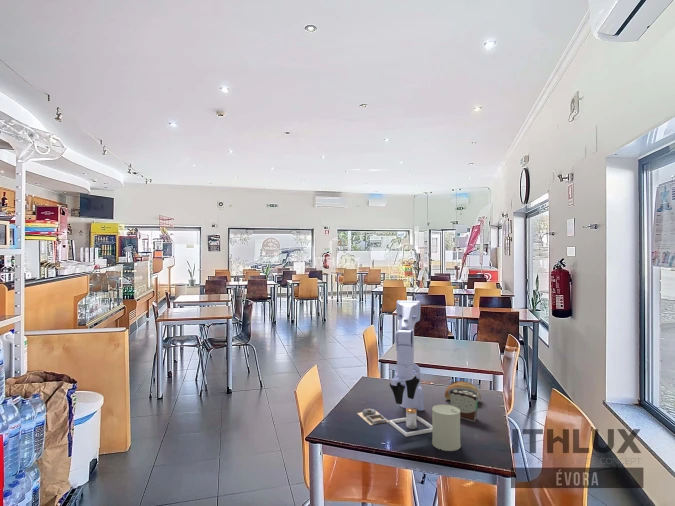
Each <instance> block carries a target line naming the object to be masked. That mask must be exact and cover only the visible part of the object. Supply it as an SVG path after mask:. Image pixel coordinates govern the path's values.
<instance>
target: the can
mask: <svg viewBox="0 0 675 506" xmlns="http://www.w3.org/2000/svg"><path fill="white" fill-rule="evenodd" d="M431 417H432V423H431V425H432V432H431V434H432V436H431V444H432V446H433V447H434V448H436V449H437V450H440V449H441V450H440V451H443V452H444V451H445V452H455V451H459V449H460V448H461V447H462V444H461V418H460V409H459V408H457V407H455V406H451V404H436V405H433V406H432V407H431Z"/></svg>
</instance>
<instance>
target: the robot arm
mask: <svg viewBox="0 0 675 506" xmlns="http://www.w3.org/2000/svg"><path fill="white" fill-rule="evenodd" d="M421 306H422V305H421V301H420V300H399V299H397V301H396V307H395V308H396V316H397V318H396V319H398V326H397V330H396V331H395V334H394V335H395V336H394V337H395V339H394V341H395V351H396V372H395V373H394V376H393V378H391V379H390V382H389V388H391V391H392V394H393V397H394V400H395V404H398V406H400V408H403V409H407V408H415V409H416V410H417V411H425V405H424V403H425V400H424V399H425V397H424V396H425V395H424V393H425V392H424V389H423V388H422V386H421V368H420V366H419V365H418V364H417V363H415V362H414V358H415V356H414V355H415V354H414V353H415V352H414V350H415V349H414V348H415V347H414V346H415V325H416V323H418V322H420V320H421Z"/></svg>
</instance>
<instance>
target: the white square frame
mask: <svg viewBox="0 0 675 506" xmlns="http://www.w3.org/2000/svg"><path fill="white" fill-rule="evenodd" d="M388 420H389V422H388V424H389V425H391V427H393V428H394V429H396V430H397V431H398V432H400V433H401V435H403V436H405V437H411V436H412V437H413V436H416V435H417V436H418V435H423V434H428V433H432V423H429V422H428V421H426V420H425V419H424V418H422V417H420V416H418V415H416V421H418V422H420V423H422V425H424V426H426V427H427V428H424V429H420V430H414V431H409V432H407V431H406V430H404V429H403V428H402V427H400V426H399V425H398V424H397V423H403V422H406V417H402V418H401V417H400V418H395V419H388Z"/></svg>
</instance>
